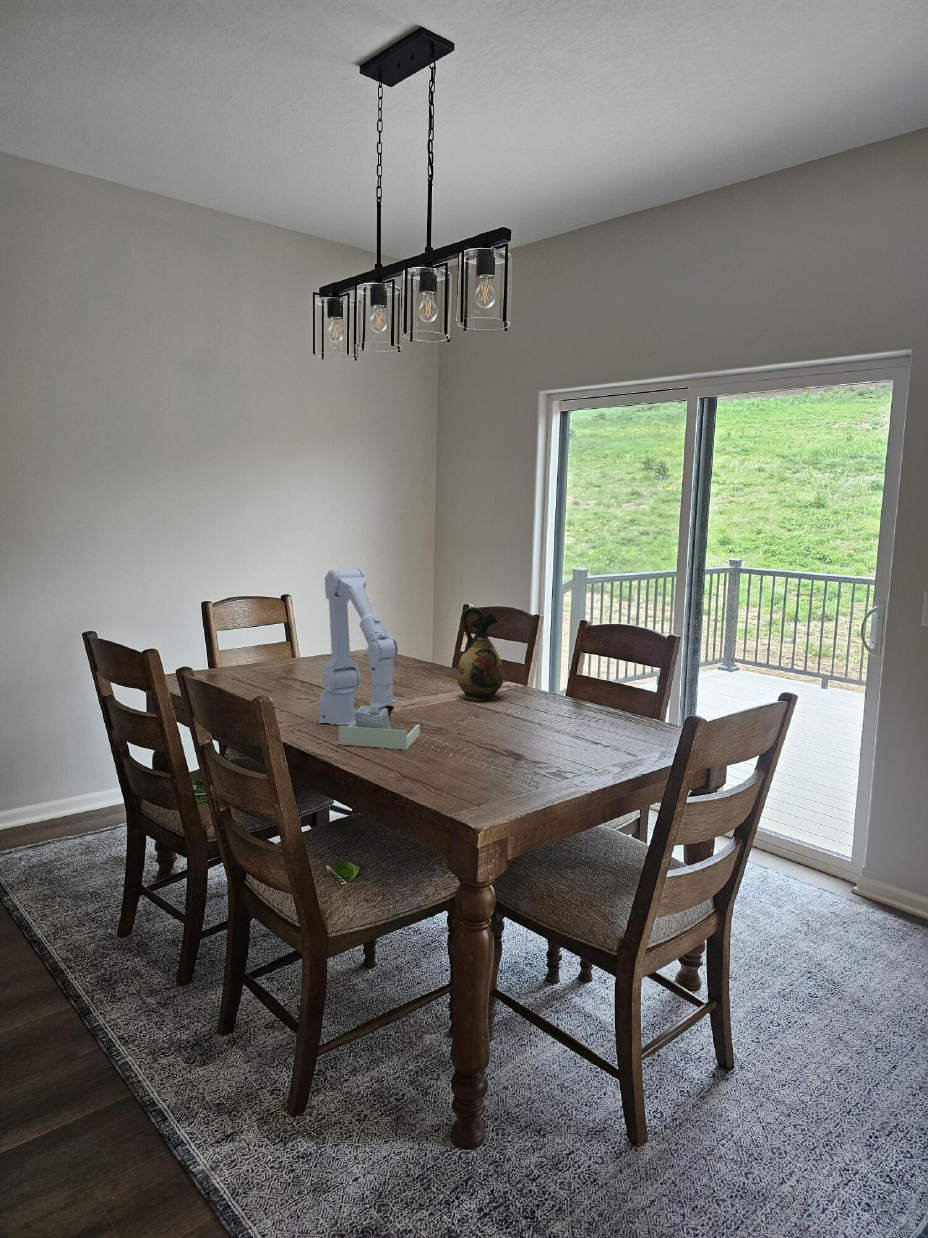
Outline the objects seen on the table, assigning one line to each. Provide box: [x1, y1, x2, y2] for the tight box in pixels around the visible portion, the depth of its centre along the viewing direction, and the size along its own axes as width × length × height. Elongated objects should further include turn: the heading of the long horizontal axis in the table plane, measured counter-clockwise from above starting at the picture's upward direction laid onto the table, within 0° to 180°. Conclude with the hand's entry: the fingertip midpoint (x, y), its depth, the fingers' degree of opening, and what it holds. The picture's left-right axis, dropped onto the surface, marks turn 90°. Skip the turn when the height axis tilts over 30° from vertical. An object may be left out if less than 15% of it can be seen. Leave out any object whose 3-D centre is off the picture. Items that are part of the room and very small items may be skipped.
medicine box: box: [354, 705, 392, 729], centre depth 213 cm, size 8×4×9 cm, turn 68°
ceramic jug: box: [456, 606, 505, 703], centre depth 265 cm, size 17×15×30 cm
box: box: [338, 721, 421, 751], centre depth 216 cm, size 18×15×5 cm
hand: (381, 733), depth 217 cm, fingers closed
